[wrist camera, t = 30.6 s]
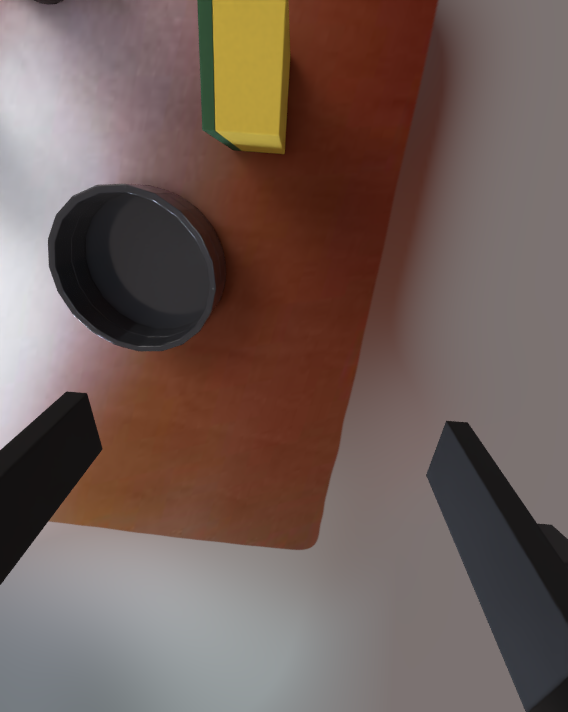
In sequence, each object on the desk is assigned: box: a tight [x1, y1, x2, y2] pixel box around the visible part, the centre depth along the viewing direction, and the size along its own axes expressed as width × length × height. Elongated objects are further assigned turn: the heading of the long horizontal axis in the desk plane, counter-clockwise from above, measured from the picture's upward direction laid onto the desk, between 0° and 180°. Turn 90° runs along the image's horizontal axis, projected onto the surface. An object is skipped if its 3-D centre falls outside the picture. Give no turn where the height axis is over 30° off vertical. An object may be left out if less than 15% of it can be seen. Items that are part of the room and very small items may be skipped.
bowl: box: [48, 184, 226, 351], centre depth 33 cm, size 15×15×6 cm
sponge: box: [198, 0, 290, 154], centre depth 24 cm, size 5×7×11 cm
